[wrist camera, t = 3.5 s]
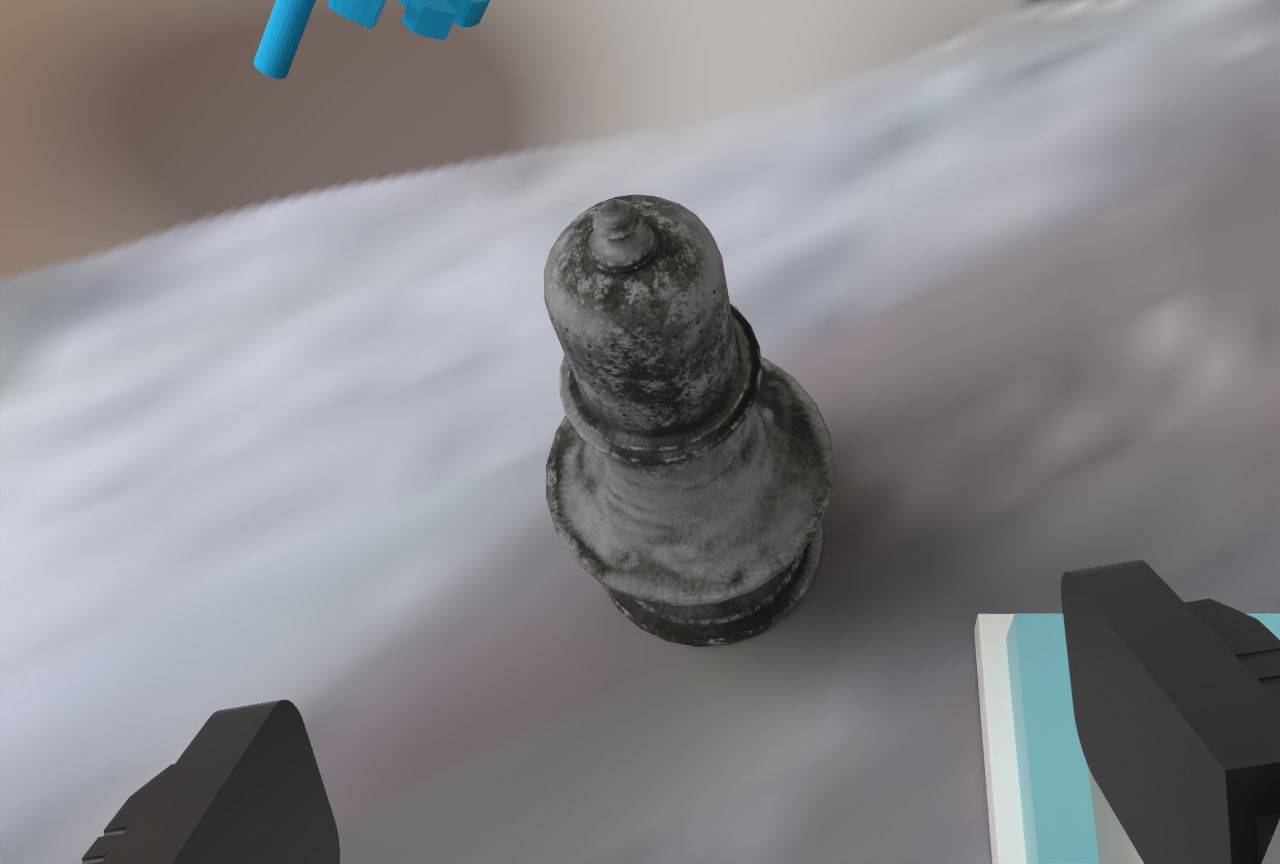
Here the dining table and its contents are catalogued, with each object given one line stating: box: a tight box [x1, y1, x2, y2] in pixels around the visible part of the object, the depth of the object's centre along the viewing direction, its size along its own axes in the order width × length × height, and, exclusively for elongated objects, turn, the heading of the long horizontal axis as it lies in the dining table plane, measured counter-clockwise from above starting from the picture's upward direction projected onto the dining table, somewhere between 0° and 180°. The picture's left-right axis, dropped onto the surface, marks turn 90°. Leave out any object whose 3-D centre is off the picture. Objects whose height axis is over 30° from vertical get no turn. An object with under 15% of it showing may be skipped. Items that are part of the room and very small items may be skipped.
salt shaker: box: [544, 195, 834, 646], centre depth 21 cm, size 6×6×12 cm
